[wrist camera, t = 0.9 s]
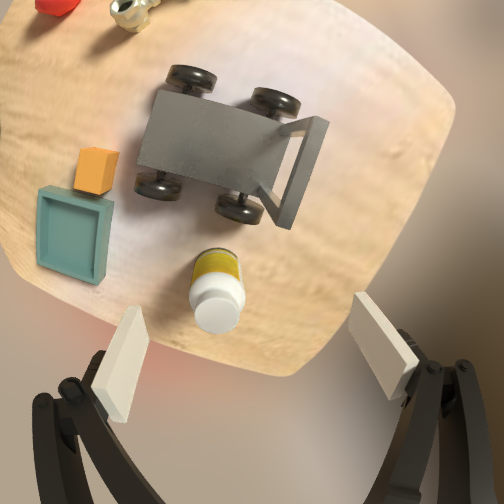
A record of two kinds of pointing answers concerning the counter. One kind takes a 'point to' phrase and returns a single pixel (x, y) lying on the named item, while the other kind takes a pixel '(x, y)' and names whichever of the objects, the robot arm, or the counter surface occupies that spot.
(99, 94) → the counter surface
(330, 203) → the counter surface
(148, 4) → the valve
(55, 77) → the counter surface
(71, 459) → the robot arm
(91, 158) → the block
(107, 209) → the tray
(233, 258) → the pill bottle
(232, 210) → the trolley
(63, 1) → the apple
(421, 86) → the counter surface
